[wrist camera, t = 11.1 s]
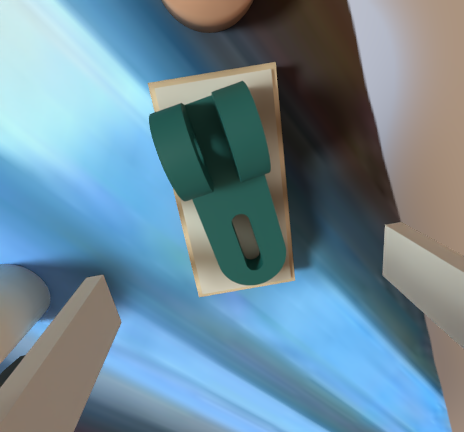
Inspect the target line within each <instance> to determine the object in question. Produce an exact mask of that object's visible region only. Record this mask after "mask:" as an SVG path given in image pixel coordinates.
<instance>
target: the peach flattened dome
mask: <svg viewBox="0 0 464 432" xmlns="http://www.w3.org/2000/svg"><path fill="white" fill-rule="evenodd" d="M161 1H162V3H163V4H164V6H165V7H166V9H167V10H168V11H169V12H170V14H171V15H172V16H173V17H174V18H175V19H176V20H177V21H179V22H180V23H181V24H183V25H184V26H186V27H188V28H190V29H192V30H195V31H199V32H204V33H213V32H219V31H223V30H225V29H228V28H230V27H231V26H233V25H235V24H236V23H237V22H238V21H239V20H240V19H241V18H242V17H243V16H244V15H245V14H246V12H247V11H248V10H249V8H250V6H251V4H252V3H253V0H161Z"/></svg>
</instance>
